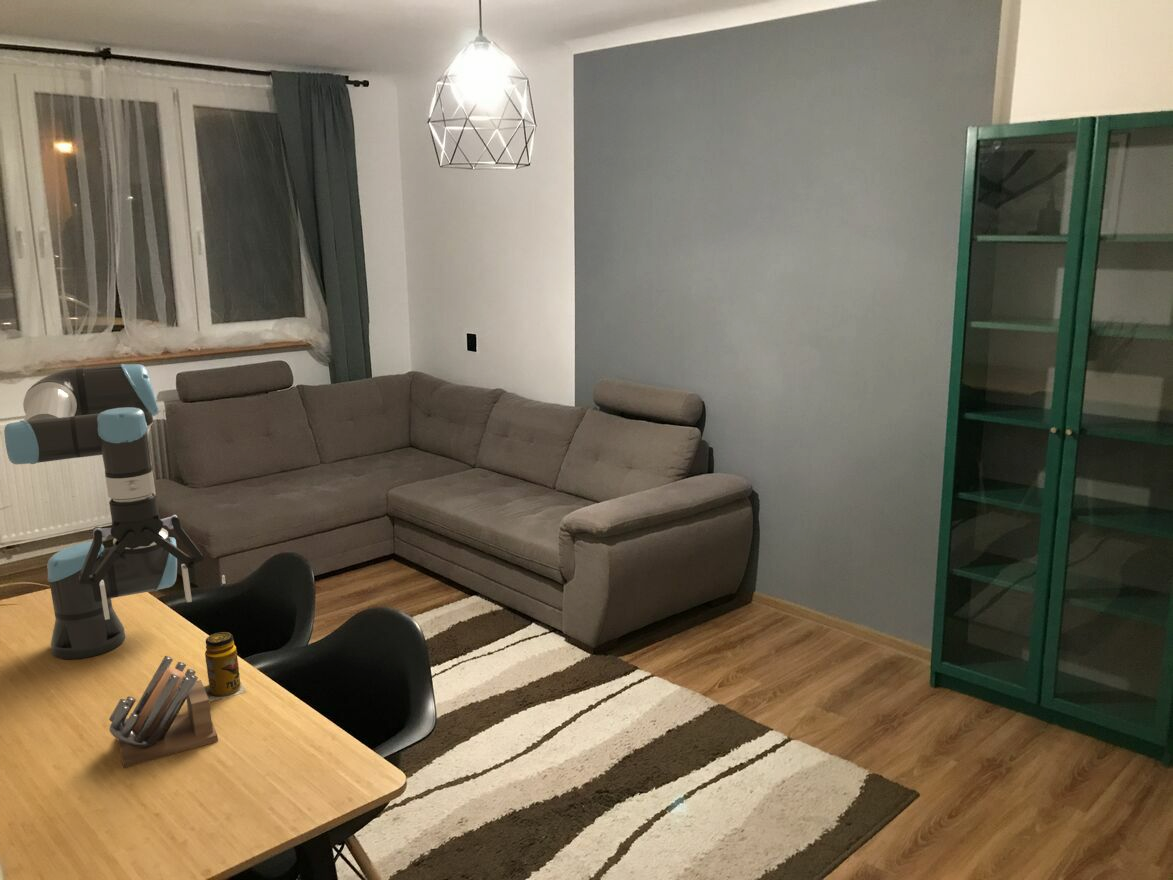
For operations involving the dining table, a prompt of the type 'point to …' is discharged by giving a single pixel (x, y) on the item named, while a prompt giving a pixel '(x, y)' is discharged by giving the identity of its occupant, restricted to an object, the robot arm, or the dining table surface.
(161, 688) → the peg
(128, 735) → the socket
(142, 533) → the robot arm
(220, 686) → the condiment
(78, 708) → the dining table surface
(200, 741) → the socket base
